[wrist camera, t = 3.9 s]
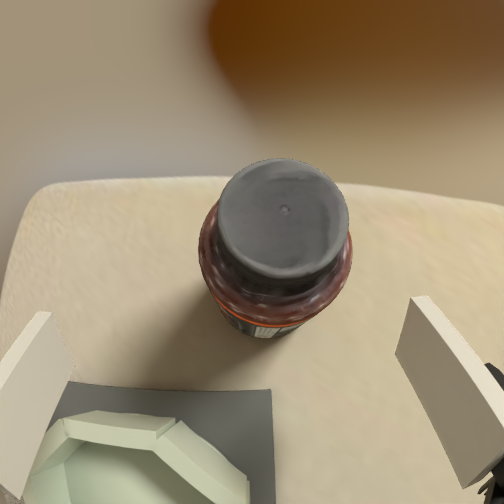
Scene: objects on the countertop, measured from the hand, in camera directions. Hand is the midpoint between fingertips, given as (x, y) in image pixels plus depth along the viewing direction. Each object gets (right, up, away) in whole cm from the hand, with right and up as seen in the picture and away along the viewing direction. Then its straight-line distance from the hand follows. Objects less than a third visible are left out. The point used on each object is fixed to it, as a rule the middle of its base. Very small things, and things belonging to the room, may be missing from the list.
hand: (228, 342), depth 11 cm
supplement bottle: (+2, +1, +9) cm, 10 cm away
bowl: (-6, -13, +4) cm, 14 cm away
